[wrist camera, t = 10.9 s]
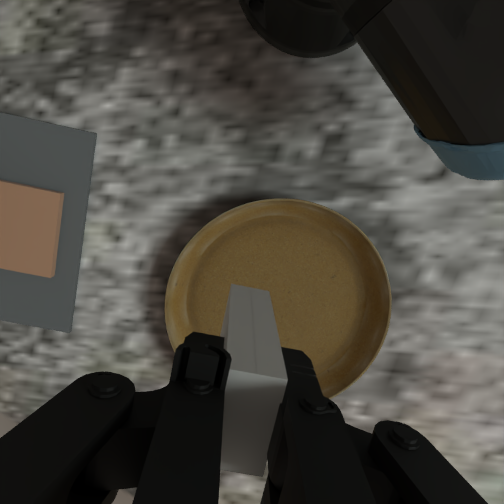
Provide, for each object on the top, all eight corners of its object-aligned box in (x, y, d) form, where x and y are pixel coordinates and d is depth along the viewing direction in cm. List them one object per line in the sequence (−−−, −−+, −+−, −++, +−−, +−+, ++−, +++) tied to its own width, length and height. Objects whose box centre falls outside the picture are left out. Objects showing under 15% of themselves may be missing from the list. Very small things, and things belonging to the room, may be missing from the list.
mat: (-46, 102, 42) (-48, 101, 41) (96, 133, 43) (95, 133, 42) (-58, 307, 46) (-60, 309, 46) (71, 331, 47) (69, 333, 47)
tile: (65, 192, 44) (-34, 171, 43) (60, 193, 42) (-43, 172, 41) (56, 274, 46) (-39, 255, 45) (50, 278, 44) (-48, 259, 43)
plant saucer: (421, 249, 47) (434, 256, 44) (324, 425, 52) (329, 443, 48) (221, 157, 44) (219, 158, 41) (137, 352, 49) (130, 366, 45)
